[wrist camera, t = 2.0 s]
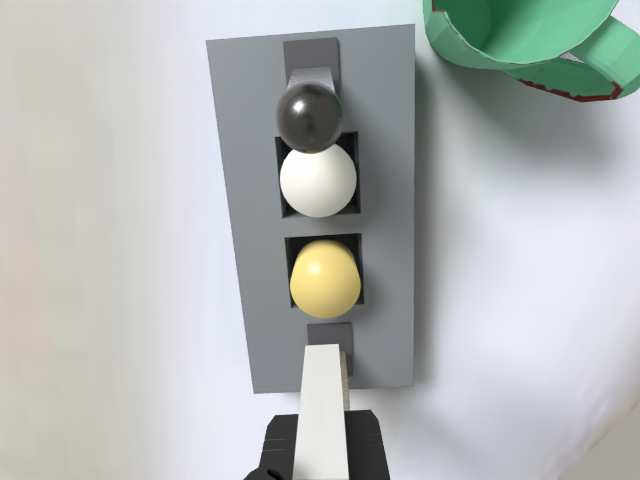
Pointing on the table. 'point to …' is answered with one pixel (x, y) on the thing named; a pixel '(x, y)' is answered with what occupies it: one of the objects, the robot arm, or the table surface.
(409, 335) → the panel
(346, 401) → the lever
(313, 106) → the lever
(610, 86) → the mug
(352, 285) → the button mustard
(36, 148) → the table surface
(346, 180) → the button ivory
